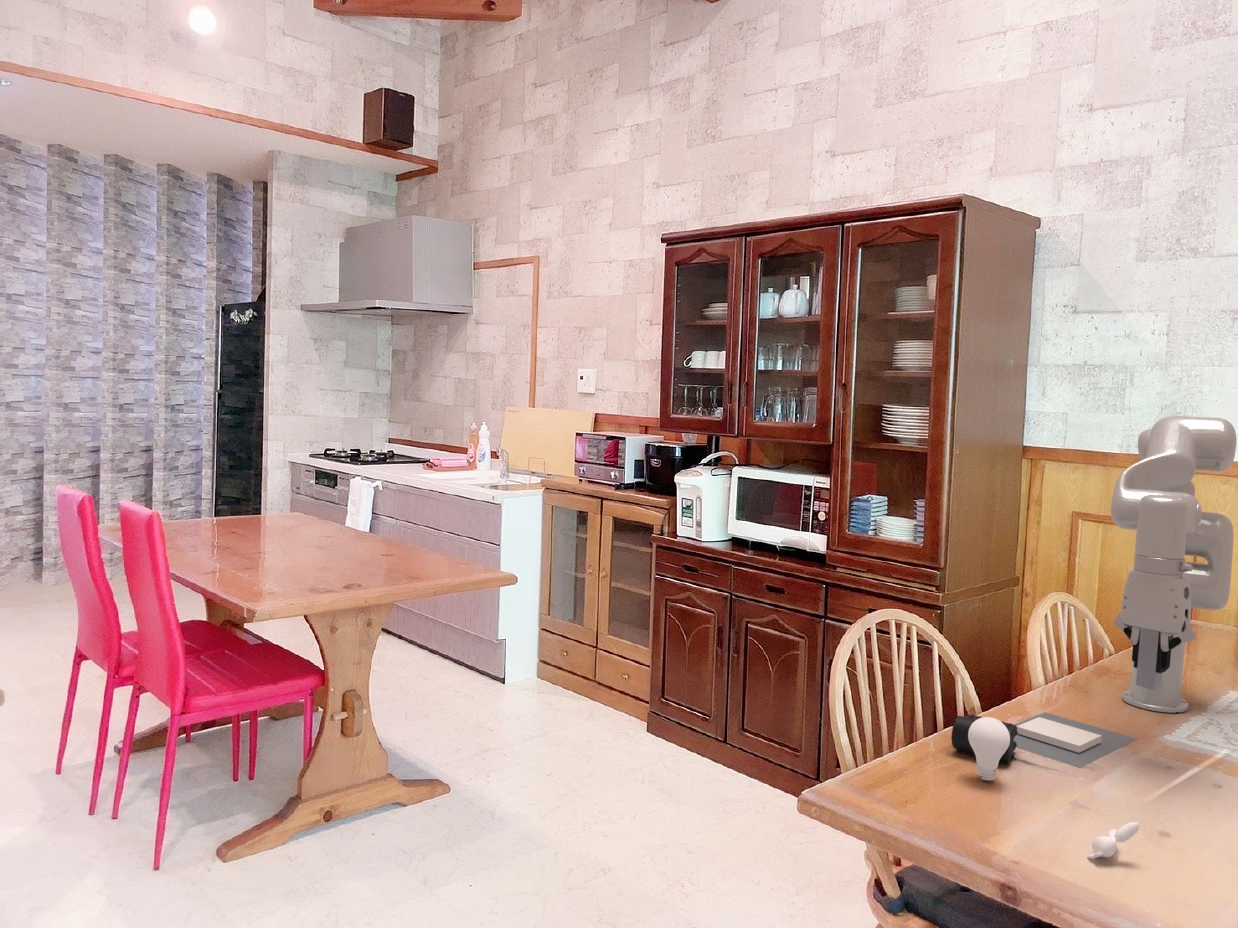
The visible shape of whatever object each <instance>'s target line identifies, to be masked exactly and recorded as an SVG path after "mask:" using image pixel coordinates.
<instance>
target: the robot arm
mask: <svg viewBox="0 0 1238 928" xmlns="http://www.w3.org/2000/svg"><path fill="white" fill-rule="evenodd" d="M1237 439H1238V438H1237V433H1236V430H1235V427H1234V425H1233V423H1231V422H1230V421H1228V419H1224V418H1221V417H1207V416H1202V417H1201V416H1184V415H1181V416H1180V415H1177V416H1167V417H1163V418H1161V419H1159V420H1158V421H1157V422H1155V424H1153V426H1152V427H1151V428H1149V429H1146V430H1143V431H1142V432H1141V433H1140V434H1139V436H1138V439H1137V452H1138V457H1139V459H1140V460H1139V461H1136V462H1135V463H1133V464H1132V465H1129V466H1128V467H1127V468H1125V469H1124V470H1123V471H1122V472H1121V473H1120V474H1119V476H1118V477H1117V479H1116V481H1115V485H1114V489H1113V492H1112V497H1111V502H1110V516H1111V520H1112V522H1113V523H1114V525H1116V526H1117V527H1119V528H1120V529H1123V530H1132V531H1134V530H1135V531H1136V533H1135V544H1134V545H1135V547H1134V548H1135V549H1134V559H1133V560H1134V561H1133V569H1130V570H1129V572H1128V575H1127V578H1126V581H1125V586H1124V589H1123V594H1122V598H1121V599H1122V600H1121V606H1120V612H1119V613H1118V615H1117V616H1116V617H1115V618H1114V620H1113V622H1112V623H1113V626H1115V627H1117V628H1118V629H1119V630H1120V631H1122V632H1123V633H1124V634H1125V636H1126V637H1127V638H1128V639H1129V640H1130V641H1129V642H1130V644H1131V645H1132V653H1131V661H1132V668H1131V679H1130V680H1131V681H1130V689H1127V690H1124V691H1122V693H1121V699H1122V700H1123V701H1124V702H1125V703H1127V704H1129V705H1131V706H1134V707H1135V708H1136V707H1137V708H1141V709H1144V710H1149V711H1153V712H1159V713H1172V714H1174V713H1176V712H1177V714H1178V712H1179V713H1184V712H1187V711H1188V710H1189V702H1188V701H1187V700H1185V699H1184V698H1182V695H1181V694H1182V689H1183V688H1184V684H1183V673H1184V672H1183V670H1184V661H1185V660H1184V659H1185V651H1186V650H1185V649H1186V643H1188V642H1193V641H1195V639H1196V635H1195V632H1194V631H1193V629H1192V626H1191V624H1192V623H1191V621H1192V608H1195V609H1201V610H1210V611H1219V610H1222V609H1224V608H1225V607H1227V604H1228V602H1229V598H1230V593H1231V584H1232V583H1231V581H1232V567H1233V554H1234V536H1235V535H1234V526H1233V523H1232V521H1231V519H1230V518H1229V517H1228V516H1226V515H1225V514H1222V513H1217V512H1211V511H1210V512H1209V511H1208V512H1207V511H1203V507H1202V504H1201V503H1200V502H1199V500H1198V499H1197V497H1196V496H1195V495H1196V488H1195V484H1194V483H1193V481H1192V479H1193V478H1194V476H1195V475H1196V472H1197V471H1203V472H1204V471H1207V472H1224V471H1227V470H1228V469H1230V468H1231V466H1232V465H1233V462H1234V461H1235V457H1236V451H1237ZM1185 556H1189V557H1199V558H1203V559H1204V560H1206V563H1200V562H1192V561H1186V558H1185ZM1140 629H1146V630H1151V631H1156V632H1160V633H1161V647H1160V650H1158V653H1157V665H1156V672H1157V673H1162V682H1161V687H1160V688H1157V689H1155V690H1153V689H1149V688H1145V687H1141V686H1137V685H1136V678H1137V665H1138V653H1139V641H1140Z"/></svg>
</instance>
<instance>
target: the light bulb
mask: <svg viewBox="0 0 1238 928" xmlns="http://www.w3.org/2000/svg"><path fill="white" fill-rule="evenodd" d="M968 739H969V743H970V745H971V747H972V749H973V751H974V753H975V755H976V756H975V758H976V760H975V761H976V765H977V770H976V771H977V772H976V774H977V777H978V778H979V779H981V780H982V781H983V782H986V783H987V782H991V781H994V780H996V778H997V777H996V776H997V771H996V770H997V769H998V766H999V763H1000V762H999V760H1000V758H1001V757H1002V755H1003V754H1004V753H1005V752H1006V750H1007V749H1008V747H1009V744H1010V735H1009V732H1008V729H1007V728H1006V726H1005V725H1004V724H1003V723H1002V721H1001V720H999V719H997V718H996V717H990V716H983V718H979V719H977V720H976V721H974V722H973V723H972V725H971V726H970V728H969V732H968Z"/></svg>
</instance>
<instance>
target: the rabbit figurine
mask: <svg viewBox="0 0 1238 928" xmlns="http://www.w3.org/2000/svg"><path fill="white" fill-rule="evenodd" d="M1139 829H1140V823H1139V822H1137V821H1136V822H1135V821H1134V822H1128V823H1125V824H1124V825H1122V826H1120V827H1119V828H1118V829H1116V828H1112V829H1110V830H1109V831H1108V832H1107V835H1101V836H1095V837H1094V839H1093V840H1092V842H1091V843H1092V844H1091V848H1092V850H1093V851H1092V853H1090V854H1087V859H1091V860H1093V859H1095V858H1099V857H1102V858H1110V857H1113V858H1115V859H1117V860H1118V859H1119V856H1117V854H1115V853H1116V852H1117V848H1118V847H1117V844H1118V842H1119V843H1125V842H1126V841H1127V842H1128V840H1130V839H1131V838H1133V837H1134V836H1135V835H1136V834H1137V832H1138V831H1139Z"/></svg>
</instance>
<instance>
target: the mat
mask: <svg viewBox="0 0 1238 928" xmlns="http://www.w3.org/2000/svg"><path fill="white" fill-rule="evenodd" d="M1038 717H1041V718H1044V719H1047V720H1051V721H1054V722H1058V723H1061V724H1064V725H1068V726H1071V727H1075V728H1078V729H1081V730H1085V731H1088V732H1092V733H1095V734H1098V735H1102V738H1101V743H1099V744H1096V745H1094V746H1092V747H1090V748H1088V749H1086V750H1084V751H1082V752H1080V753H1076V752H1073V751H1070V750H1067V749H1063V748H1060V747H1057V746H1054V745H1051V744H1047V743H1044V742H1041V741H1038V740H1035V739H1032V738H1028V737H1025V736H1022V735H1020V734H1017V735H1016V736H1015V737H1014V741H1015V742H1016V744H1017V746H1016V749H1020V750H1024V751H1026V752H1029V753H1032V754H1035V755H1038V756H1041V757H1043V758H1044V757H1045V758H1048V759H1051V760H1054V761H1056V762H1060V763H1064V764H1067V765H1069V766H1071V767H1075V768H1079V769H1081V768H1083V767H1085V766H1087V765H1089V764H1090V763H1093V762H1094V761H1097V760H1099V759H1100V758H1103V757H1104V756H1106V755H1107V756H1108V755H1109V754H1111V753H1113V752H1115V751H1117V750H1119V749H1121V748H1122V747H1125V746H1126V745H1129V744H1131V743H1132V742H1134V741H1136V740H1138V738H1136V737H1133V736H1129V735H1126V734H1122V733H1119V732H1115V731H1112V730H1108V729H1105V728H1102V727H1098V726H1095V725H1093V724H1088V723H1084V722H1081V721H1078V720H1075V719H1070V718H1067V717H1063V716H1060V715H1056V714H1053V713H1050V712H1046V711H1044V712H1042V713H1039V714H1037V715H1035V716H1032V717H1029V718H1027V719H1025V720H1022V721H1019V722H1017V723H1014V725H1016V726H1018V725H1021V724H1023V723H1026V722H1028V721H1031V720H1033V719H1036V718H1038Z"/></svg>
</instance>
